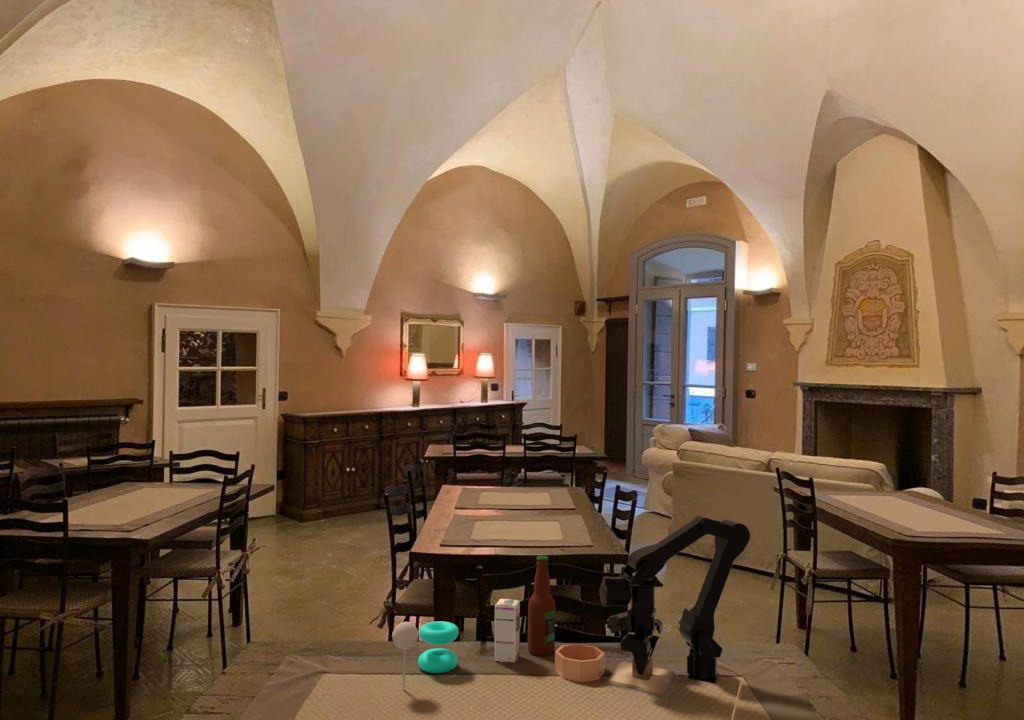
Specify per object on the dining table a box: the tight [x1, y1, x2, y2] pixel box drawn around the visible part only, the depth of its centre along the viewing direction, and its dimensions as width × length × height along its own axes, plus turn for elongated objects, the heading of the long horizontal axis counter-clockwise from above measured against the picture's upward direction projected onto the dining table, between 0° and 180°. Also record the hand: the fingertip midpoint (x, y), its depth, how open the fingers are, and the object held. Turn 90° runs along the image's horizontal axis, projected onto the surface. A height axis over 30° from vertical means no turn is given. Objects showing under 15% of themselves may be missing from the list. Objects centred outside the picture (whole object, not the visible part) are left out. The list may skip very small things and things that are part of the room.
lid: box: [609, 656, 676, 695], centre depth 153 cm, size 13×13×5 cm
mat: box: [603, 662, 680, 699], centre depth 153 cm, size 15×15×1 cm
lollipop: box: [391, 621, 420, 691], centre depth 146 cm, size 6×6×15 cm
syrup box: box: [493, 598, 521, 662], centre depth 165 cm, size 6×6×14 cm
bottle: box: [527, 555, 556, 657], centre depth 172 cm, size 7×7×25 cm
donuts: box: [417, 620, 460, 674], centre depth 159 cm, size 10×10×10 cm
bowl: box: [554, 643, 606, 683], centre depth 157 cm, size 11×11×5 cm
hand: (642, 671), depth 153 cm, fingers closed on lid, 4 cm apart
